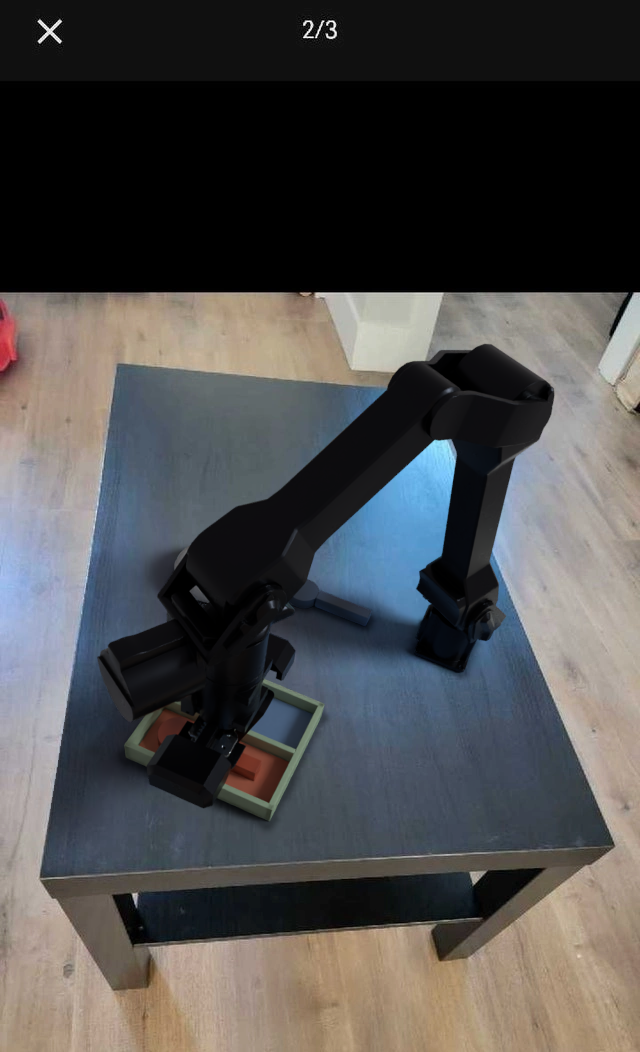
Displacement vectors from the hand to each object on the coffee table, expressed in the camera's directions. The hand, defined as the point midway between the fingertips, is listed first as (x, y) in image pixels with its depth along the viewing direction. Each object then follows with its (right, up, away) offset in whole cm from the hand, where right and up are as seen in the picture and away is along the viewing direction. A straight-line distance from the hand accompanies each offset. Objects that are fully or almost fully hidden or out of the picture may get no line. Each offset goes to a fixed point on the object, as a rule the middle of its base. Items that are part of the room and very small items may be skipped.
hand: (223, 755), depth 69 cm
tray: (0, +2, +3) cm, 4 cm away
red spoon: (-1, 0, +1) cm, 1 cm away
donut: (-4, +19, +18) cm, 27 cm away
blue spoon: (+11, +16, +18) cm, 26 cm away
